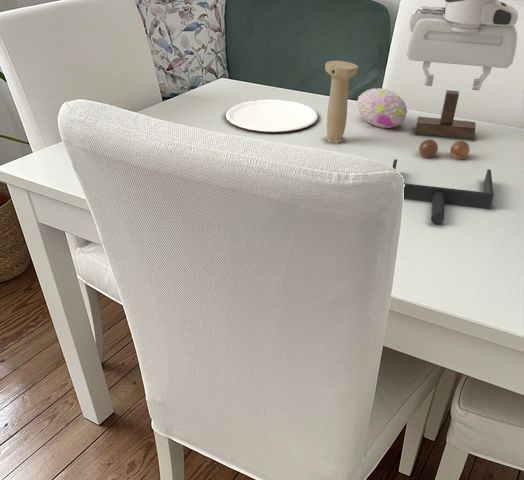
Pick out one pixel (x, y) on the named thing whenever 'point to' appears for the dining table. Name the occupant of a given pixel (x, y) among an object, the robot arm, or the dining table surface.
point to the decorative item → (382, 108)
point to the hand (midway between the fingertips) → (451, 87)
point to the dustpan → (449, 196)
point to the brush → (446, 122)
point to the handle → (338, 98)
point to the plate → (271, 116)
